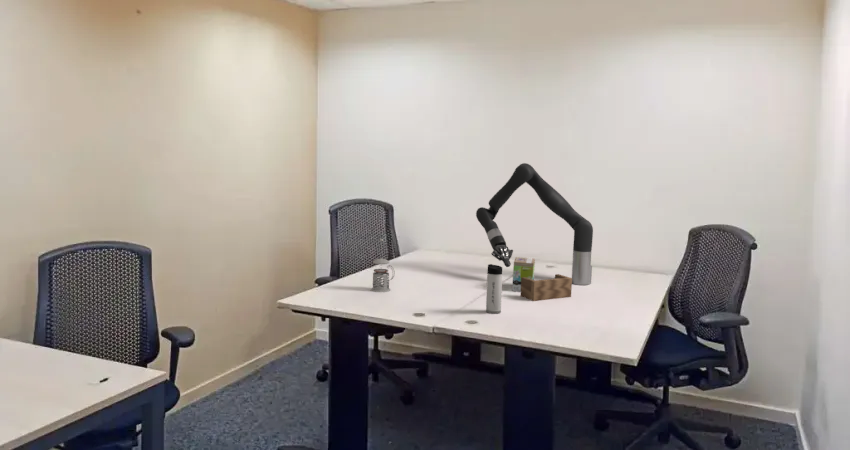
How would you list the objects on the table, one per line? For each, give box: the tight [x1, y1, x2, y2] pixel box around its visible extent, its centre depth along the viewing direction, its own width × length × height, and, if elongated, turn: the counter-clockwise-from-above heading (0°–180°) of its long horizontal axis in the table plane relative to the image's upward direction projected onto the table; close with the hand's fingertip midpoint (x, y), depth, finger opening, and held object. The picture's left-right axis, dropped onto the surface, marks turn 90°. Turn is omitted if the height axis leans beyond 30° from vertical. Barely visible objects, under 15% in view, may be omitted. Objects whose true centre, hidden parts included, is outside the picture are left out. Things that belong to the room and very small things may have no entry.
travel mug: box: [485, 263, 503, 315], centre depth 269 cm, size 6×7×20 cm
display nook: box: [520, 273, 573, 302], centre depth 300 cm, size 22×10×9 cm, turn 118°
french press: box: [370, 238, 395, 293], centre depth 305 cm, size 10×12×25 cm
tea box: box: [511, 256, 536, 293], centre depth 316 cm, size 15×10×15 cm, turn 168°
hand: (508, 266), depth 327 cm, fingers closed
